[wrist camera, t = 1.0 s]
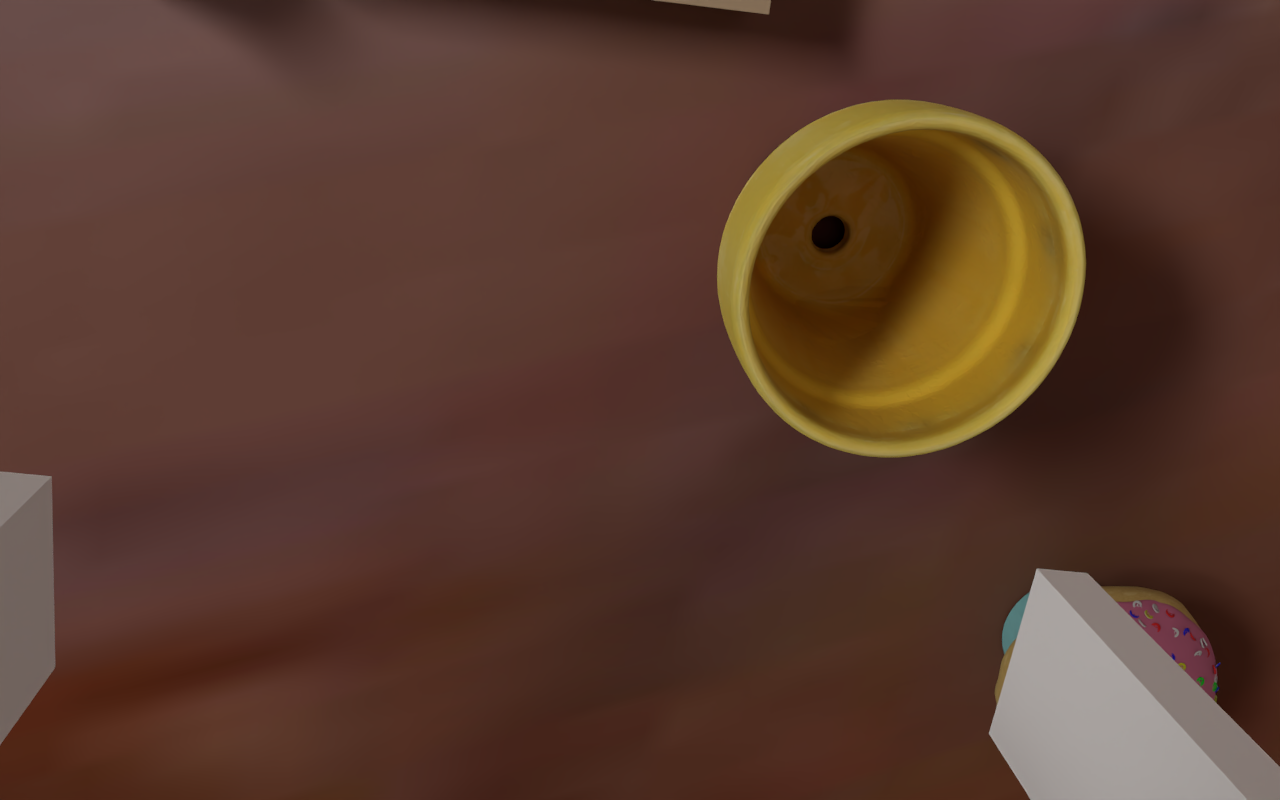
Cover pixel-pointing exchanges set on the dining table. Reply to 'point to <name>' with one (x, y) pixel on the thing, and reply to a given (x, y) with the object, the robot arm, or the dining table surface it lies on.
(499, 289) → the dining table surface
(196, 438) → the dining table surface
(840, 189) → the plant pot
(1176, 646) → the cupcake
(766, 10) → the plinth
